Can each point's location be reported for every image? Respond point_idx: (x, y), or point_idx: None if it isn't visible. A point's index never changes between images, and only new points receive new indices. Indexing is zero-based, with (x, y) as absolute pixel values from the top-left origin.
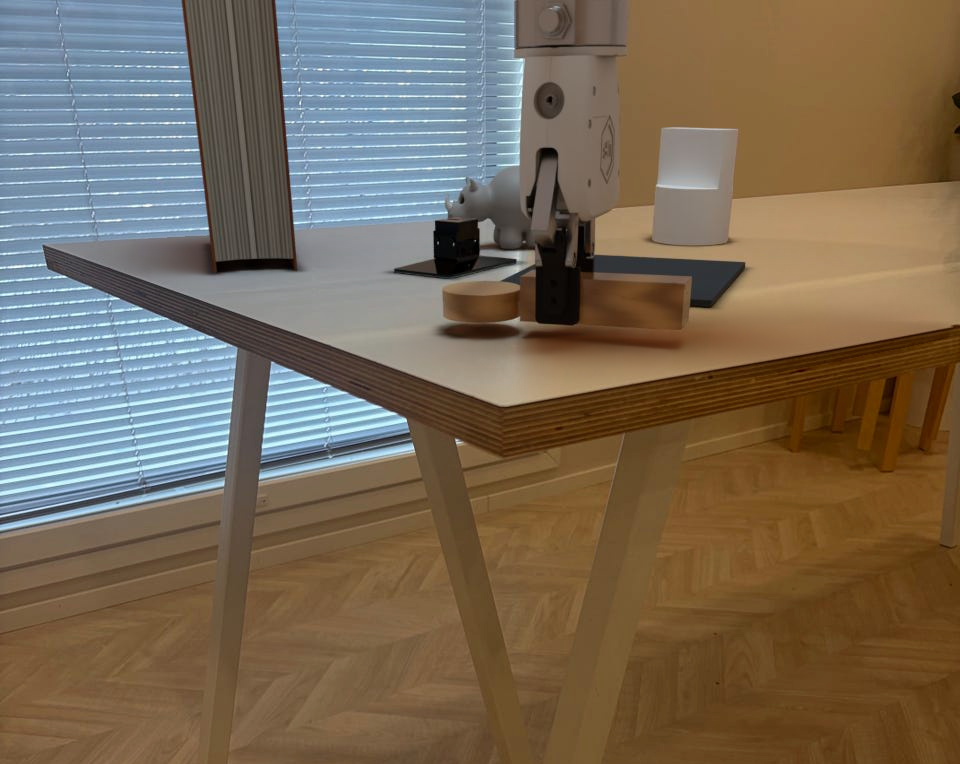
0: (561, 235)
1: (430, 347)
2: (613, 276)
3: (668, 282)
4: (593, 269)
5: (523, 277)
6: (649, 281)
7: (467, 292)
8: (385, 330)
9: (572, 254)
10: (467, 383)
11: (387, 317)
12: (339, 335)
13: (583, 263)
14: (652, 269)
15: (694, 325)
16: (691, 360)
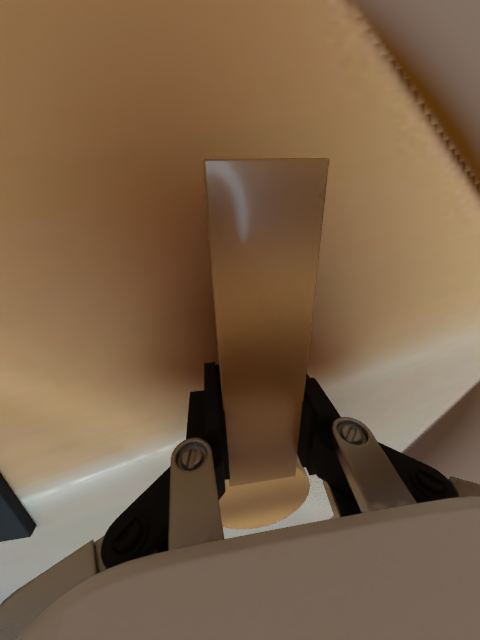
0: (438, 492)
1: None
2: (262, 356)
3: (319, 211)
4: (209, 412)
5: (295, 471)
6: (314, 263)
7: (294, 496)
8: None
9: (375, 440)
10: (470, 369)
11: (223, 527)
12: (308, 516)
13: (225, 435)
14: None
15: (50, 199)
16: (343, 142)
